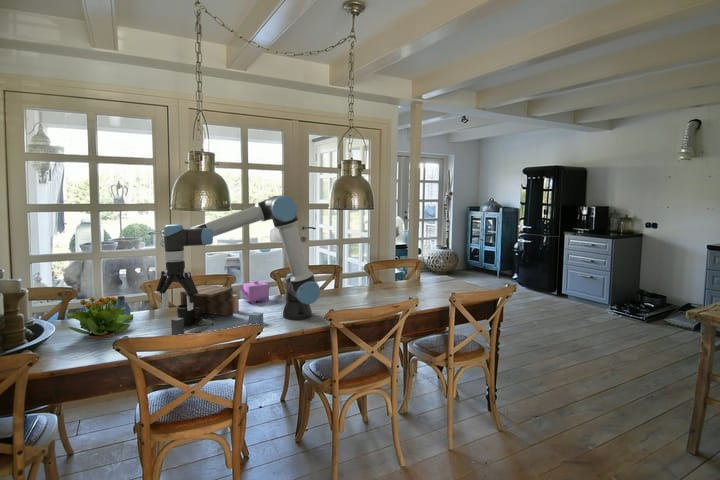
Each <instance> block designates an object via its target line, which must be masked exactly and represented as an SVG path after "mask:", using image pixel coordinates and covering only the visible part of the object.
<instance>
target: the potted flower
mask: <svg viewBox="0 0 720 480" xmlns="http://www.w3.org/2000/svg"><path fill="white" fill-rule="evenodd" d="M79 302H80V306H81V305H82V306H83V307H84V310H81V311H80V312H79V311H74V312H73V311H72V312H65V313H64V315H65V316H66V318H70V319H73V320H77V321H79V325H80V328H81V329H80V328H77V327H73V326H67V328H68V329H69V330H71V331H73V332H76V333H78V334H79V333H80V334H83V335H88V336H89V338H90V339H92V340H94V339H95V340H99V339H100V340H101V339H106V338H110V337H112V336H115V334H116V333H117V334H122V333H123V332H126V330H128V329H129V328H130V327H131V324H130V323H124V322H133V320H134V314H133V313H130V314H129V315H126V314H124V315H121V313H123V312H124V311H123V310H124V309H126V307H124V308H122V309H121V308H116V309H115V308H114V305H115V304H116V305H117V303H118V298H116V297H115V296H111V297H110V296H106V297H100V298H99V299H98V300H96V298H95V297H94V296H91V297H90V298H89V300H87V301H86V299H85V298H84V299H81V300H80V301H79ZM116 305H115V306H116ZM104 306H105V307H104ZM87 310H88V311H87Z"/></svg>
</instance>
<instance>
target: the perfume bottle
mask: <svg viewBox="0 0 720 480" xmlns="http://www.w3.org/2000/svg"><path fill="white" fill-rule="evenodd" d="M117 299H118V302H117V305H116V304H115V305H116V306H115V305H114V304H113V305H114V308H115V309H116V308H121V309H122V308H124V307H126V309H124V310H123V311H124V312H123V313H121V315H124V314H126V315H129V314H130V315H131V307H130V306H129V304H128V302H126V298H125V295H119V296H117Z"/></svg>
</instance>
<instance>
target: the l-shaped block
mask: <svg viewBox="0 0 720 480" xmlns="http://www.w3.org/2000/svg"><path fill="white" fill-rule="evenodd" d="M239 305H240V303H239V294H233V312H235V313H237V311H238V312H240V310H239V308H240V307H239Z"/></svg>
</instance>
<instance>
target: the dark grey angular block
mask: <svg viewBox="0 0 720 480" xmlns="http://www.w3.org/2000/svg"><path fill="white" fill-rule="evenodd" d="M197 318H198V316H195V318H194V321H195V320H196V319H197ZM170 322H171V323H170V324H171V336H172V335H178V334H186V333H194V334H196V333H195V332H197V333H199V332H201V331H204V330H206V329H209V328H211V327H214V326H215V319H214V318H208V317H201V316H200V317H199V319H198V321H197V322H196V323H195V324H194V325H198V326H195V327H192V328H190V329H187V330H185V327H184V318H178V316H177V317H175V318H171V320H170Z"/></svg>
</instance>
